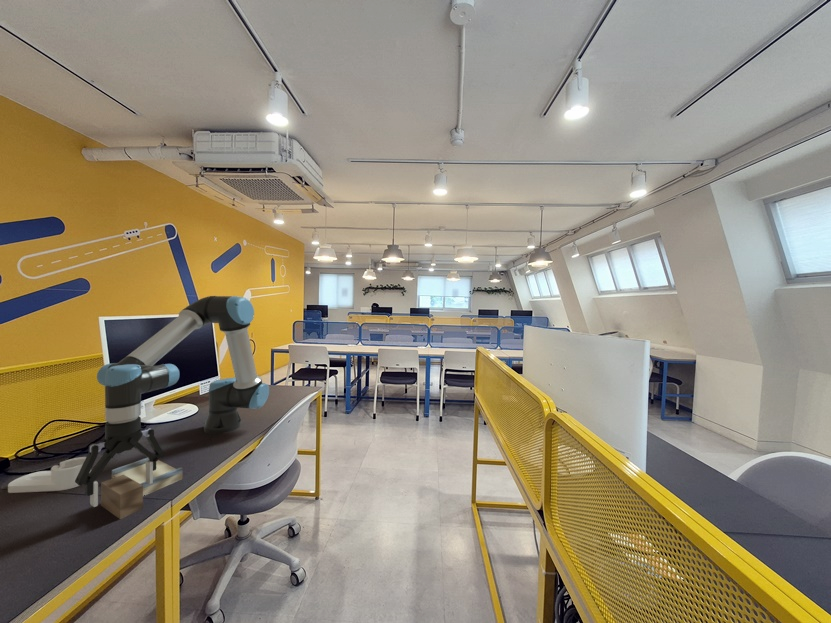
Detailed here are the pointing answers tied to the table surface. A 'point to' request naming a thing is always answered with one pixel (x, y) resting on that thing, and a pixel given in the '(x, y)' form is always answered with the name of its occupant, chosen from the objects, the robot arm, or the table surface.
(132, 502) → the brown boxy block
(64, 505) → the table surface
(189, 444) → the table surface
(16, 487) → the white elongated piece
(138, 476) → the cream tray
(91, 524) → the table surface
